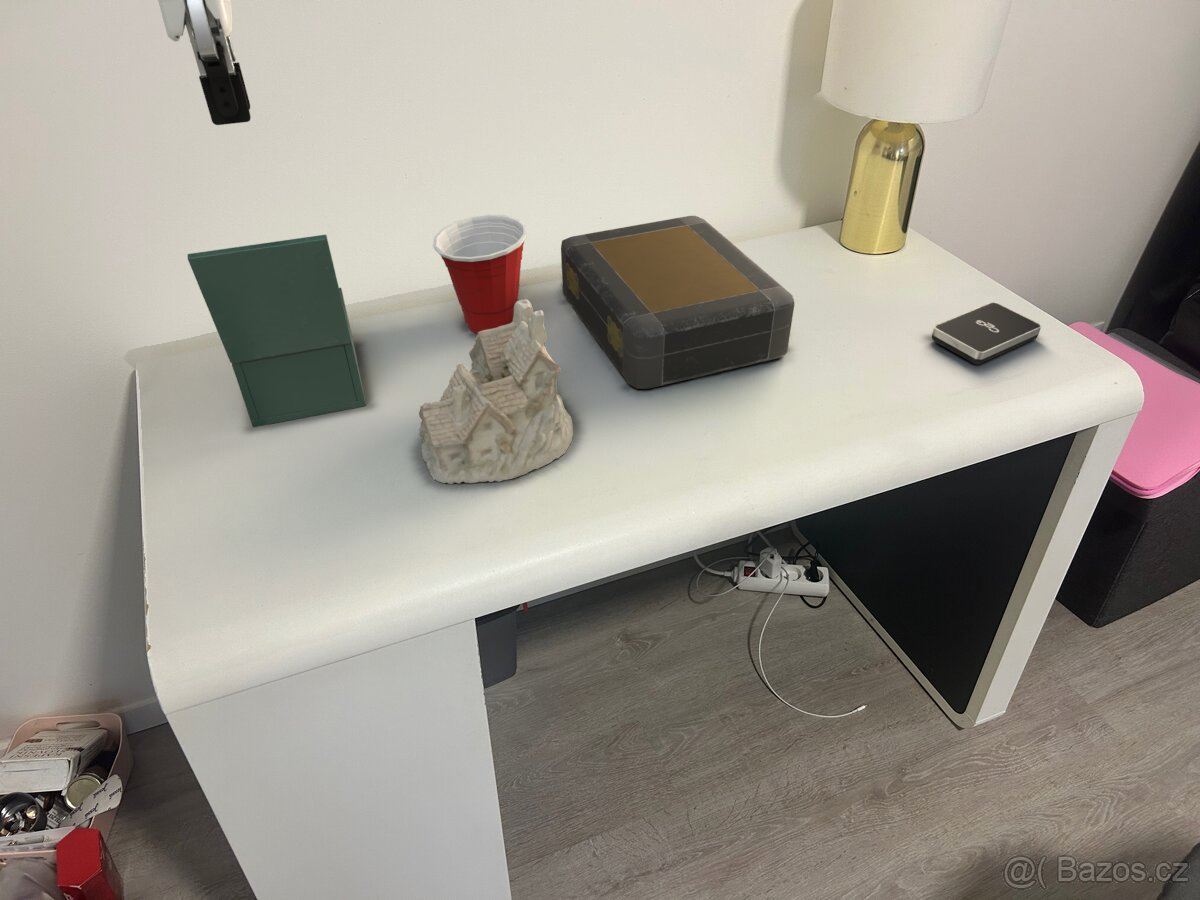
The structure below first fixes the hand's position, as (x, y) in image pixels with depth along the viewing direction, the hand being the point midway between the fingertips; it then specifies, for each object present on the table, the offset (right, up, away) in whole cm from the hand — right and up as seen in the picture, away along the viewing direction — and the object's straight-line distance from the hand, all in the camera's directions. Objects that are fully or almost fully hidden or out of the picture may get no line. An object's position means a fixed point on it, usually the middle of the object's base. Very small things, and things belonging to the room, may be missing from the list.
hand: (232, 115), depth 76 cm
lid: (+3, -16, +3) cm, 16 cm away
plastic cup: (+19, -15, +28) cm, 37 cm away
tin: (0, -23, +18) cm, 29 cm away
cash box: (+41, -15, +28) cm, 52 cm away
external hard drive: (+78, -17, +24) cm, 83 cm away
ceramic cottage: (+22, -28, +12) cm, 38 cm away
